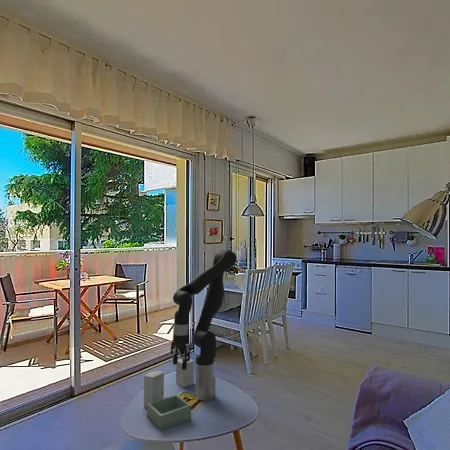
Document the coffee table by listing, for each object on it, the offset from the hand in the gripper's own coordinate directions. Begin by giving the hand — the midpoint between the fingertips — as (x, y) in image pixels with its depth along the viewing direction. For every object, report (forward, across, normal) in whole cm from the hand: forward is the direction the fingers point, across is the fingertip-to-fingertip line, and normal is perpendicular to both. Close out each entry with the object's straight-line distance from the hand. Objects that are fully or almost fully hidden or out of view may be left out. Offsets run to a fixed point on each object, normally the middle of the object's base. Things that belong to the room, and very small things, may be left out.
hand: (179, 366), depth 166 cm
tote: (+18, -8, +9) cm, 22 cm away
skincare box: (+19, +8, +9) cm, 22 cm away
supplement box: (+18, +18, -15) cm, 30 cm away
